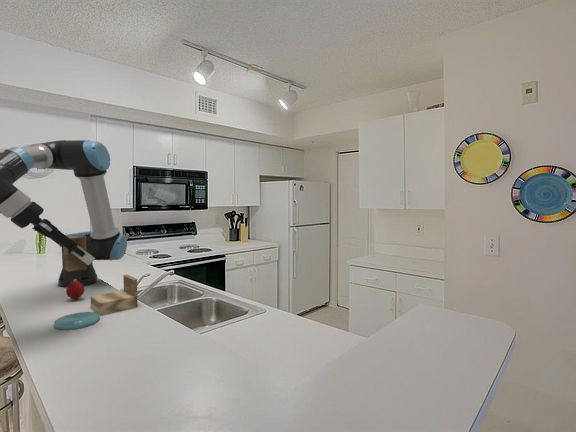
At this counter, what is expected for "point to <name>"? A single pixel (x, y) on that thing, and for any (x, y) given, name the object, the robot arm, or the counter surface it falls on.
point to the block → (70, 259)
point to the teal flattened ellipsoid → (76, 320)
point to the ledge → (117, 298)
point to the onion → (75, 289)
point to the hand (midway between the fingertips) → (88, 260)
